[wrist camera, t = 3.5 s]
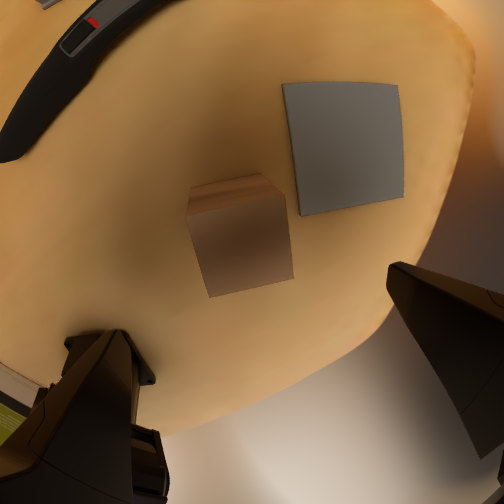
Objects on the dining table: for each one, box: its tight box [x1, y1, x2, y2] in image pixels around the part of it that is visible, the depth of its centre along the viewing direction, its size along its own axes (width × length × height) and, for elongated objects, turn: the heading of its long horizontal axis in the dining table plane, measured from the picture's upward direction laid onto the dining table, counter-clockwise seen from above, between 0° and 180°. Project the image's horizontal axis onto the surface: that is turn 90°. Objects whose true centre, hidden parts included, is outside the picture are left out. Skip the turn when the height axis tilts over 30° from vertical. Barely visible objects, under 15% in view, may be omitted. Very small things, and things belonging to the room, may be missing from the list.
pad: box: [282, 82, 404, 217], centre depth 15 cm, size 8×8×1 cm
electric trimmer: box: [0, 0, 166, 163], centre depth 9 cm, size 4×16×3 cm, turn 129°
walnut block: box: [186, 174, 294, 298], centre depth 14 cm, size 4×4×5 cm
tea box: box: [0, 363, 44, 445], centre depth 15 cm, size 15×10×15 cm
